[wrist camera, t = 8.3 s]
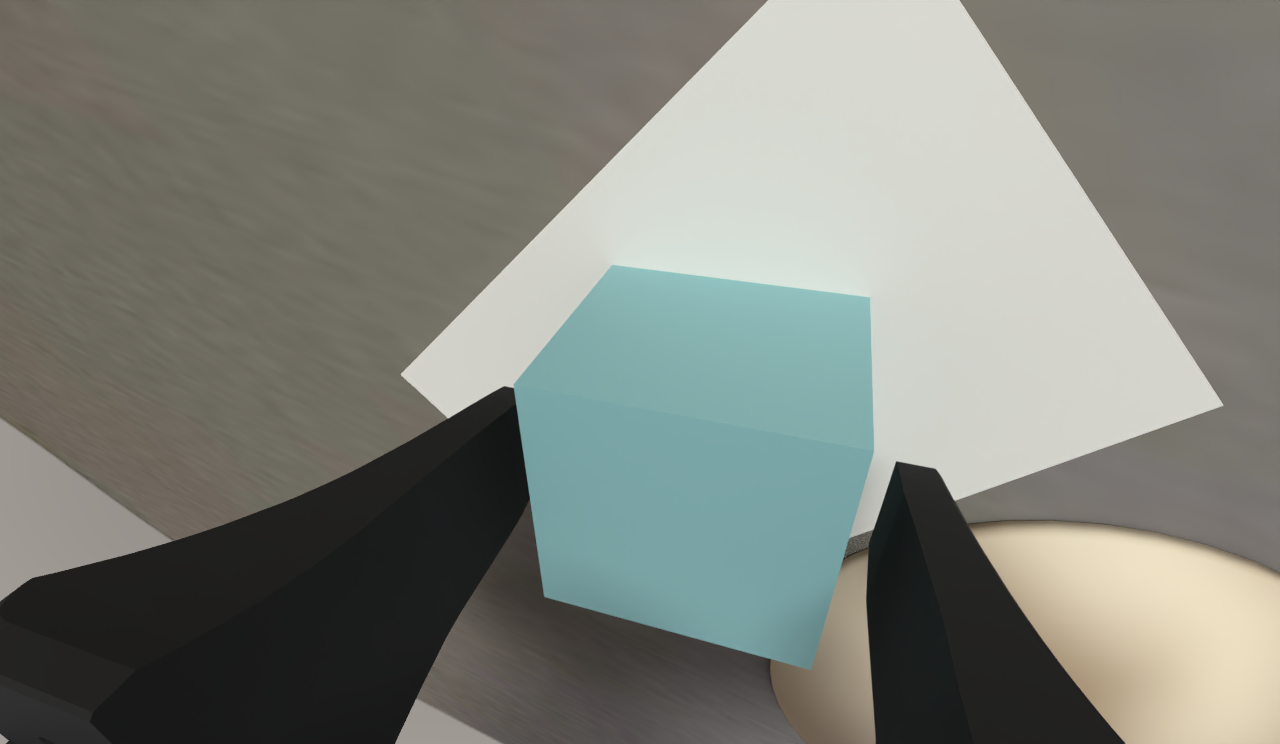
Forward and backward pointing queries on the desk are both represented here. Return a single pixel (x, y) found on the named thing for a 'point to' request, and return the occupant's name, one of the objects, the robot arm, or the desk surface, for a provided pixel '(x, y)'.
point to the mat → (869, 243)
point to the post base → (1090, 635)
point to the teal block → (701, 455)
